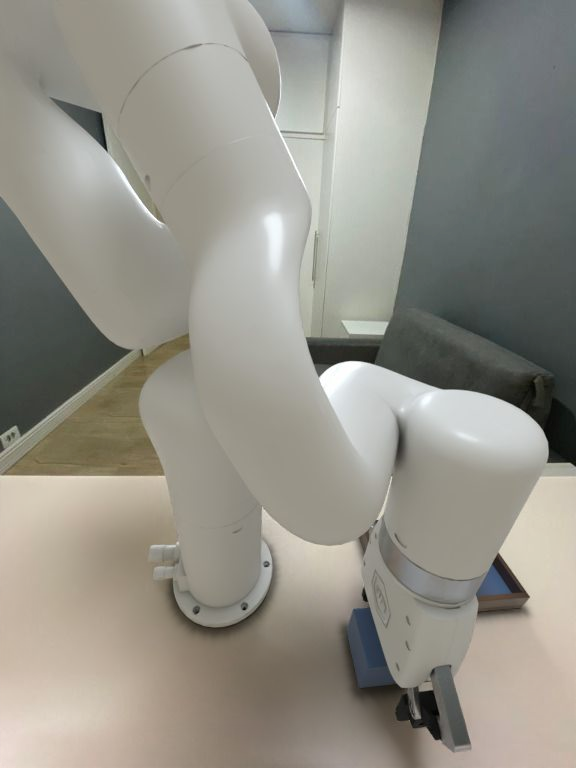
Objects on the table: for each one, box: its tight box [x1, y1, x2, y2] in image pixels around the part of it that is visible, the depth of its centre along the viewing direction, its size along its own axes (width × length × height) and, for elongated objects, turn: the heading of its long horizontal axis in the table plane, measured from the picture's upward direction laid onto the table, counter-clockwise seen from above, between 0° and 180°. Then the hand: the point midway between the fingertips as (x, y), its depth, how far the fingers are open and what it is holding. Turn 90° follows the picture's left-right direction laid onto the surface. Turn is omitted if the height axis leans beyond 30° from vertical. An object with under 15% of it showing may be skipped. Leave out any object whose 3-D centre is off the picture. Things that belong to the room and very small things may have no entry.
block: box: [346, 606, 398, 689], centre depth 33 cm, size 5×5×5 cm
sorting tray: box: [359, 519, 531, 612], centre depth 42 cm, size 18×12×3 cm, turn 96°
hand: (391, 648), depth 32 cm, fingers open, 9 cm apart
